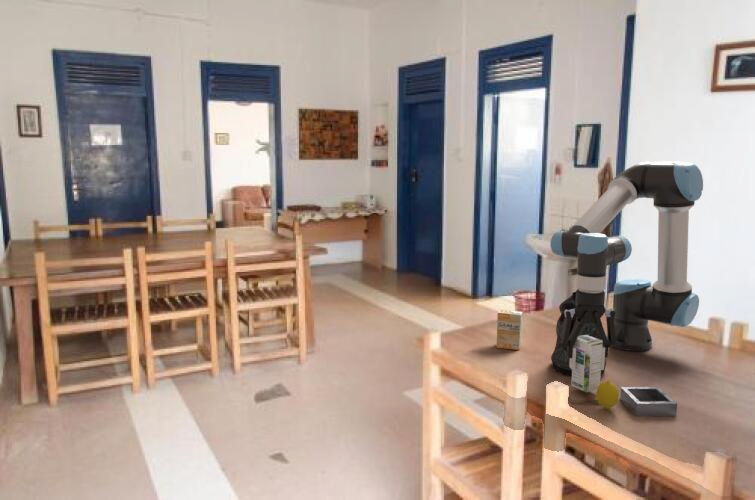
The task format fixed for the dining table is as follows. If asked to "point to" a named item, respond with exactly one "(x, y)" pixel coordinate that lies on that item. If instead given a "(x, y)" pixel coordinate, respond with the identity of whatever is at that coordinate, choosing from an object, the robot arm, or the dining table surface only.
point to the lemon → (607, 394)
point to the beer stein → (560, 351)
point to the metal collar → (658, 408)
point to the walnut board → (582, 396)
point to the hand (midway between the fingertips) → (586, 368)
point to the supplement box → (509, 329)
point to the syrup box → (587, 363)
